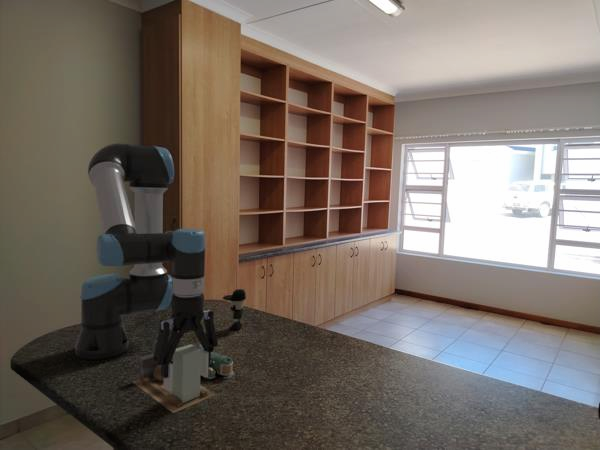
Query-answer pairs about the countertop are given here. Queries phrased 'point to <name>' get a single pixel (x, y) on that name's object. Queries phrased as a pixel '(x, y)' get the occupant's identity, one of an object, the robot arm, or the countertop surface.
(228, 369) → the hoverbike
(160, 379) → the walnut
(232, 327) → the toy
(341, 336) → the countertop surface
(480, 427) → the countertop surface
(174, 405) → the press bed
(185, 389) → the block
